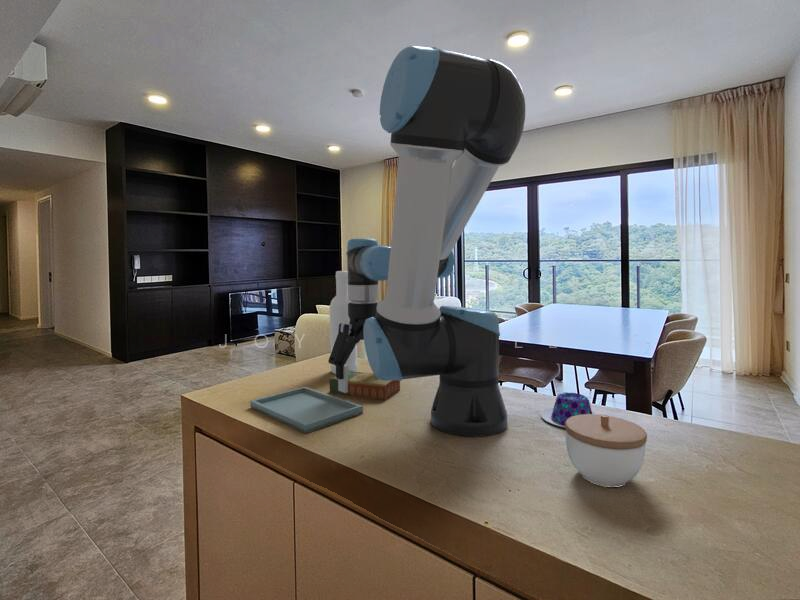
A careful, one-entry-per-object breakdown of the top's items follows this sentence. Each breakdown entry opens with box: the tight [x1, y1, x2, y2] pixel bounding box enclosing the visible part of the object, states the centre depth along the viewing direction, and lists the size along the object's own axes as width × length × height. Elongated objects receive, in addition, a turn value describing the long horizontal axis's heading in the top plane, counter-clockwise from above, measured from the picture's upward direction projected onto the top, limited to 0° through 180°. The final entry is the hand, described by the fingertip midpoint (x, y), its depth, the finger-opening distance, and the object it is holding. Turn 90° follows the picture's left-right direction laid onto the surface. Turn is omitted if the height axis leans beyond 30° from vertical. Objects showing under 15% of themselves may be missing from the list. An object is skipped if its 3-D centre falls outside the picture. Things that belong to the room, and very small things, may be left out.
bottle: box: [329, 270, 358, 375], centre depth 123 cm, size 8×8×30 cm
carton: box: [328, 371, 401, 401], centre depth 105 cm, size 8×16×4 cm, turn 66°
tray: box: [249, 386, 364, 434], centre depth 91 cm, size 22×14×2 cm
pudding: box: [540, 392, 595, 428], centre depth 84 cm, size 12×12×5 cm
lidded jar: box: [564, 413, 648, 487], centre depth 61 cm, size 11×11×9 cm
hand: (364, 385), depth 105 cm, fingers open, 13 cm apart
